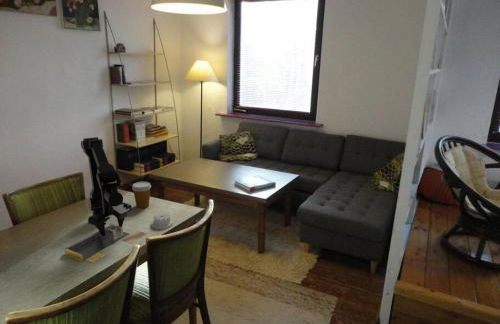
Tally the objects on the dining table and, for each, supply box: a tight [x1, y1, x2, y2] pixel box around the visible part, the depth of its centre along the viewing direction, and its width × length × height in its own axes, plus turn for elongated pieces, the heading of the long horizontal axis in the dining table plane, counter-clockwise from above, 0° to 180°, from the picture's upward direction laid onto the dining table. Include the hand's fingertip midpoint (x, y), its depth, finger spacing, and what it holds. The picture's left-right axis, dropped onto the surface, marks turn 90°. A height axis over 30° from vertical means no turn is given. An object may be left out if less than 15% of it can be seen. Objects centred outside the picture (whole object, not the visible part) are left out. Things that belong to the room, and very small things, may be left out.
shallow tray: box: [63, 225, 130, 263], centre depth 147 cm, size 10×25×2 cm, turn 153°
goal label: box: [85, 252, 106, 264], centre depth 137 cm, size 4×6×1 cm, turn 153°
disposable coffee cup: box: [131, 181, 152, 209], centre depth 183 cm, size 10×10×12 cm
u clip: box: [102, 223, 124, 241], centre depth 152 cm, size 7×5×4 cm
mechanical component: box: [150, 212, 174, 230], centre depth 165 cm, size 10×4×10 cm
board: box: [120, 230, 148, 244], centre depth 153 cm, size 6×10×1 cm, turn 153°
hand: (112, 231), depth 152 cm, fingers open, 9 cm apart
